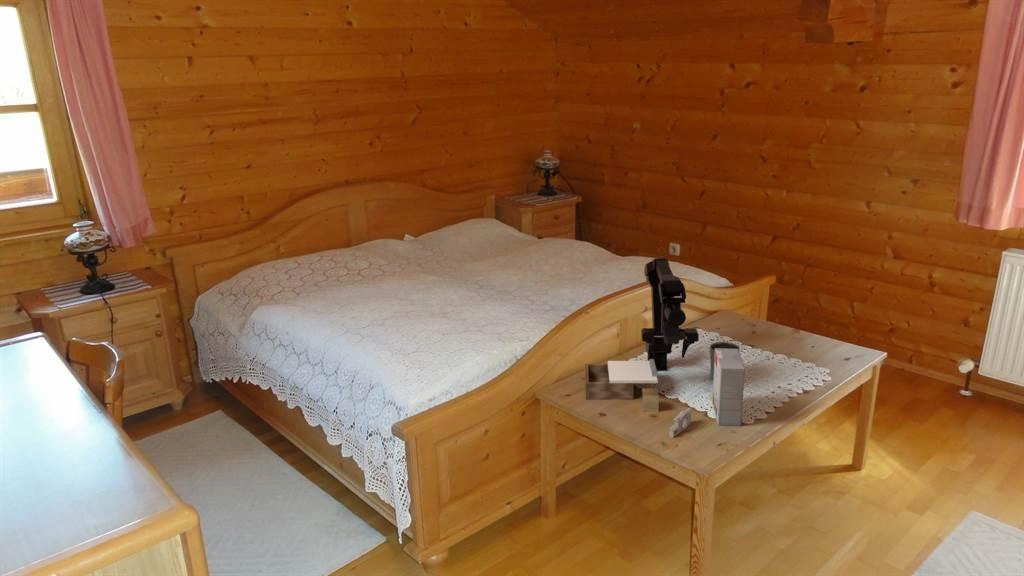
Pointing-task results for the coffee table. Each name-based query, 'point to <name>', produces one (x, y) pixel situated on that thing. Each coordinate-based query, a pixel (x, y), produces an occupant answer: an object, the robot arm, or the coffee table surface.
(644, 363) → the box lid
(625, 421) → the coffee table surface
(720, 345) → the drinking glass
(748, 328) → the coffee table surface
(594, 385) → the storage box
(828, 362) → the coffee table surface
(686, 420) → the garden wall model
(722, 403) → the hard drive box
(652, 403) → the block
